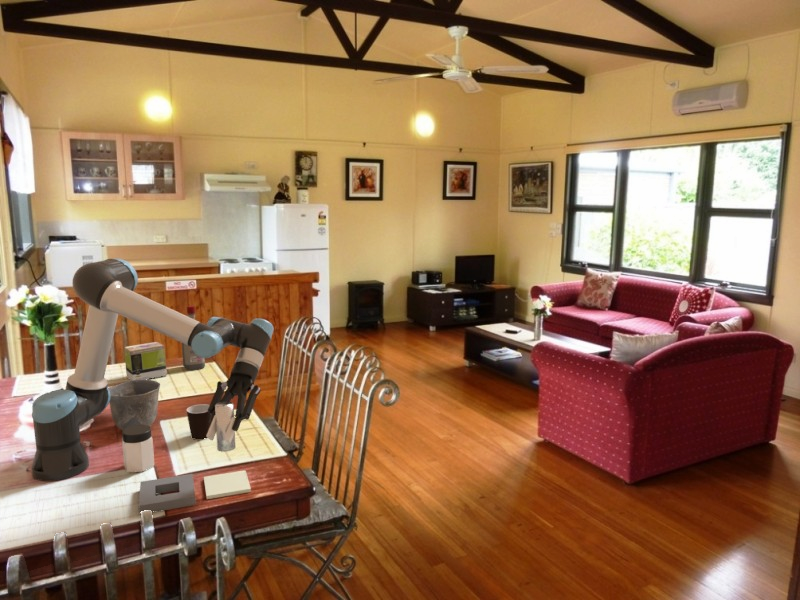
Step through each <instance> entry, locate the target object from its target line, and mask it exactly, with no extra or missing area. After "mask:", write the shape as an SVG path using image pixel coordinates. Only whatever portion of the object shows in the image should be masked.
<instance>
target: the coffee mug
mask: <svg viewBox="0 0 800 600" xmlns="http://www.w3.org/2000/svg"><path fill="white" fill-rule="evenodd" d="M209 406H210V404H205V403H204V404H194V405H191V406H189V407H187V408H186V415H187V421H188V425H189V431H190V436H191V437H192V438H195V439H202V440H205V439H204V438H206V439H208V438H207V437H206V435H207V433H208V431H209V428H210V426H209V422H210V420H211V417H212V415H211V414H210V413H209V412H208V408H209ZM192 438H191V439H192ZM195 439H194V440H195Z"/></svg>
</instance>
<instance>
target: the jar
mask: <svg viewBox="0 0 800 600" xmlns="http://www.w3.org/2000/svg"><path fill="white" fill-rule="evenodd" d="M121 435H122V438H121V443H122V444H121V445H122V454H123V455H122V457H123V458H122V459H123V468H124V469H125V472H127V473H142V471H143V472H144V470H145V471H146V469H147V470H149V469H151V468H152V467H154V466H155V456H154V454H155V453H154V444H153V443H154V442H153V441H154V440H153V437H152V427H151V426H147V425H136V426H131V427H128V428H126V429H124V430H122V431H121ZM150 467H151V468H150ZM148 468H149V469H148Z"/></svg>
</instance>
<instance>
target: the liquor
mask: <svg viewBox="0 0 800 600" xmlns="http://www.w3.org/2000/svg"><path fill="white" fill-rule="evenodd" d="M186 313H187V316H188V317H190V318H192V319H194V320H196V306H195V305H187V306H186ZM181 349H182V351H181V353H182V366H183V367H184V370H186V371H197V370H202V369H204V368H205V366H206V360H205V359H206V358H201V357H199V356H197V355H196V354H195V353H194V352H193V350H192V347H190V346H188V345H186V344H183V343H181Z"/></svg>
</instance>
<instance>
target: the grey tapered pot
mask: <svg viewBox="0 0 800 600" xmlns="http://www.w3.org/2000/svg"><path fill="white" fill-rule="evenodd" d="M160 387H161V382H158V381H157V380H156V381H155V380H154V379H153V380H152V379H147V380H132V381H131V380H128V381H123V382H122V383H117V384H116V385H114V386H113V385H112V386H110V387H108V390H110V402H109V406H110V407H109V409H110V412H111V417H112V420H113V423H114V425H116V427H117V428H118V429H119V430H122V431H123V430H124V429H126V428H128V427H131V426H136V425H147V426H149V427H151V426H152V424H153V423H154V422H155V420H156V418H157V415H158V406H159V405H158V404H159V392H160Z"/></svg>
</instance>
